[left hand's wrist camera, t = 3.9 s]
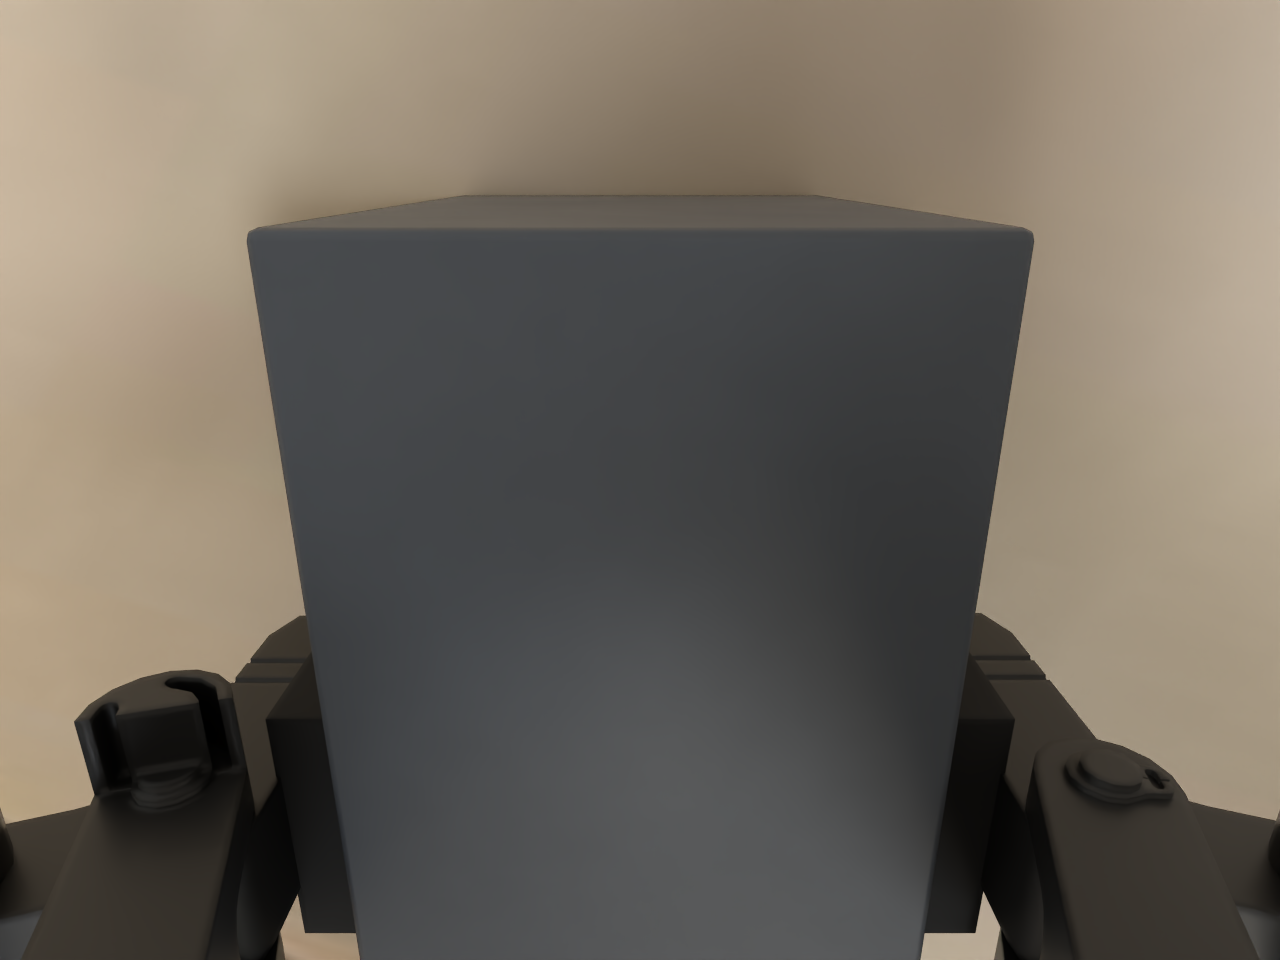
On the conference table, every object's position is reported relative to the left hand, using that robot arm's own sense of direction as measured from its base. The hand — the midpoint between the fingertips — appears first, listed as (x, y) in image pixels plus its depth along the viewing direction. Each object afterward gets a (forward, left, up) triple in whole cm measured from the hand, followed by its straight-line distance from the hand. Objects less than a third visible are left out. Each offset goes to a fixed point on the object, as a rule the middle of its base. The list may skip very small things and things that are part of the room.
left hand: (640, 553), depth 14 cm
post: (+6, +20, -1) cm, 21 cm away
